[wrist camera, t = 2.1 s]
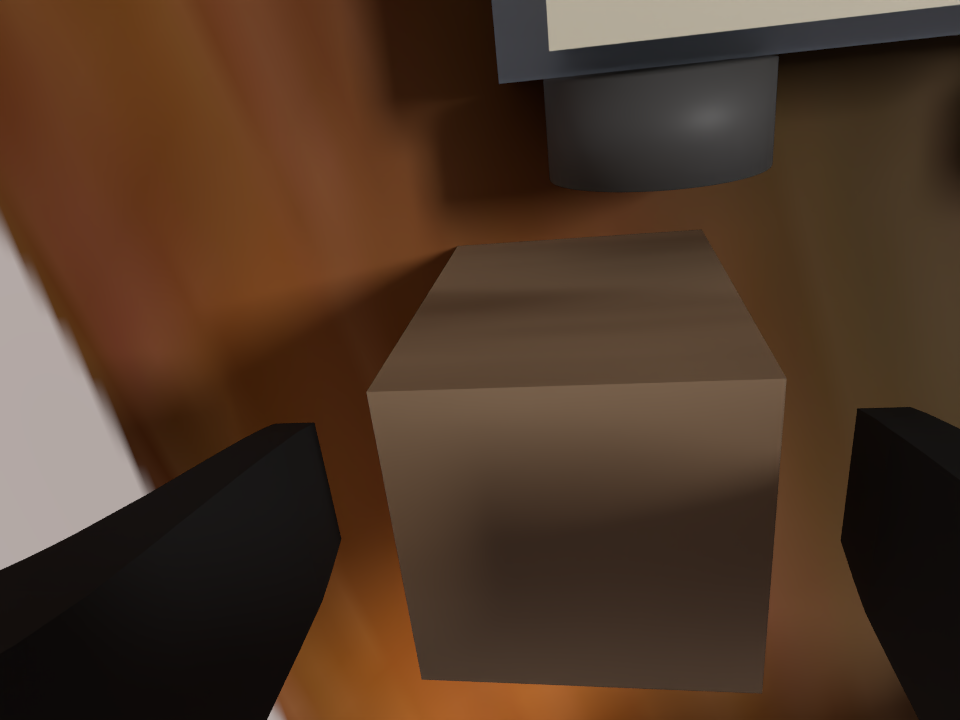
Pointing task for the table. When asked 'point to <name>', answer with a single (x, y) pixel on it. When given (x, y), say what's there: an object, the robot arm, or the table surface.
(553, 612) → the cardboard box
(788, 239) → the table surface
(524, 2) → the toy truck
